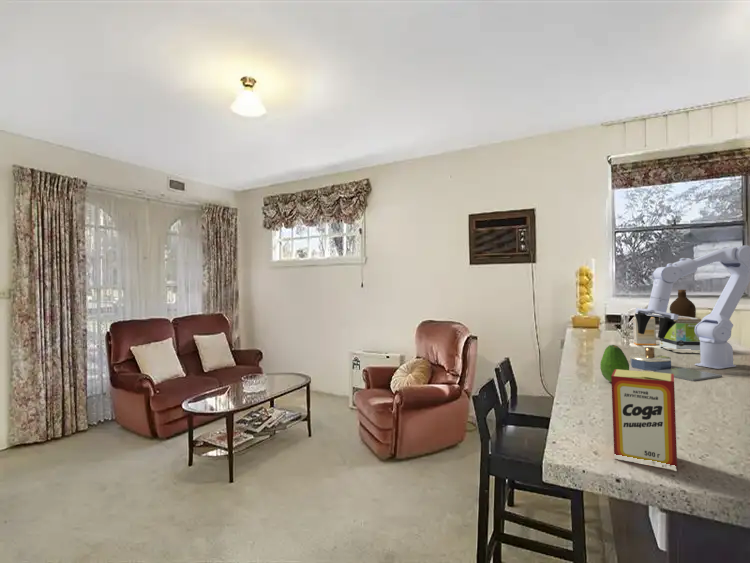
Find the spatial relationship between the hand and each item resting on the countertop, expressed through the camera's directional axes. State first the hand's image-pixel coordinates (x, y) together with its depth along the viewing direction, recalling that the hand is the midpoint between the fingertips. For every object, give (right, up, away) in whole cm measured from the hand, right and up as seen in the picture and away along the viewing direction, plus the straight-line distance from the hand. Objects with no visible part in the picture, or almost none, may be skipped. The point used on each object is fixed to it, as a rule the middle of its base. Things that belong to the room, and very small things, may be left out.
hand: (650, 335), depth 147 cm
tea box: (+33, -11, +30) cm, 45 cm away
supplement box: (+29, -11, +47) cm, 57 cm away
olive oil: (+57, -10, +59) cm, 83 cm away
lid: (+1, -8, +1) cm, 9 cm away
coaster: (+4, -11, -12) cm, 17 cm away
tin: (+1, -11, +1) cm, 12 cm away
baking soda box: (-49, -14, -71) cm, 88 cm away
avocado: (-23, -13, -18) cm, 32 cm away
